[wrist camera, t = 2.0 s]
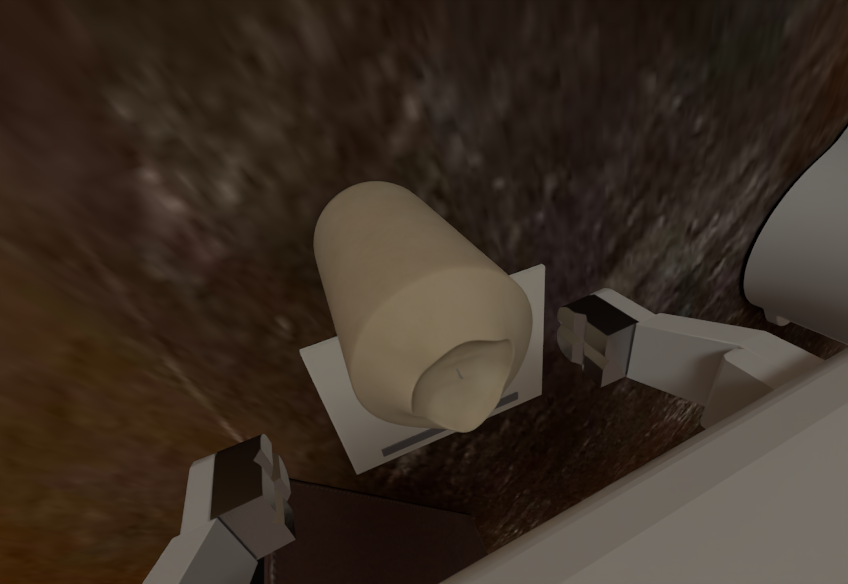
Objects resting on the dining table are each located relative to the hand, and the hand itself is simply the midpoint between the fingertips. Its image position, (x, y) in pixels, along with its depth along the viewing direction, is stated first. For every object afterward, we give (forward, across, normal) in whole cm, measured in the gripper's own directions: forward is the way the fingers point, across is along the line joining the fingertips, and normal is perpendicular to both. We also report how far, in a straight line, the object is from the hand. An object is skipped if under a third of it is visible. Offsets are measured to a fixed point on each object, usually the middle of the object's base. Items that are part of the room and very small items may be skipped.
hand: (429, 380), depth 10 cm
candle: (+9, -1, 0) cm, 9 cm away
